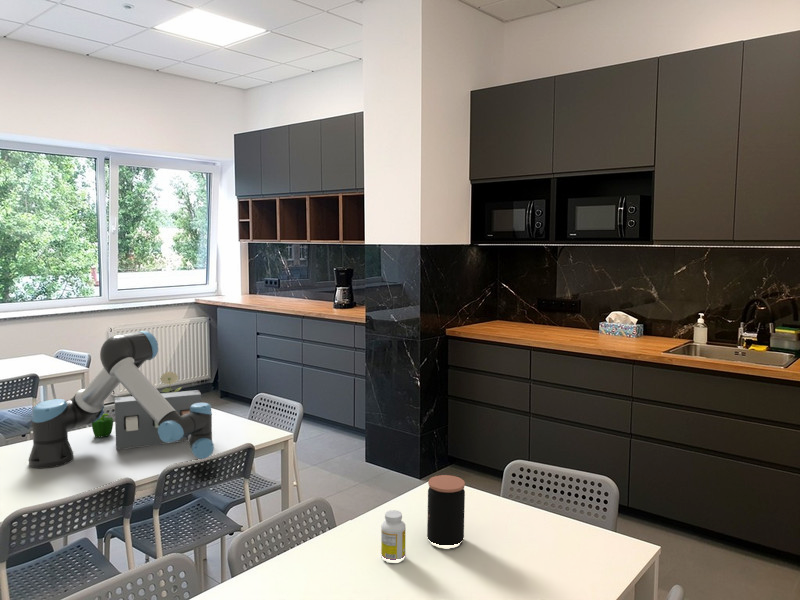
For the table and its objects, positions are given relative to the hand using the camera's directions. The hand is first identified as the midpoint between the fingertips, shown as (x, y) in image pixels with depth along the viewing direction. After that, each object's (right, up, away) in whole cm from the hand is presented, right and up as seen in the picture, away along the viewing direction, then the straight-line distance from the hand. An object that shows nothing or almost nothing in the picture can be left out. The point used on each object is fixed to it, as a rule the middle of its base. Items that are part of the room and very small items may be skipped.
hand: (190, 420), depth 252 cm
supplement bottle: (+87, -21, -87) cm, 125 cm away
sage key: (-13, -2, +1) cm, 13 cm away
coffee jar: (+102, -20, -77) cm, 129 cm away
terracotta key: (-3, -1, +6) cm, 7 cm away
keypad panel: (-15, -10, +6) cm, 20 cm away
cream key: (-23, -2, -4) cm, 23 cm away
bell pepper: (-43, -9, +13) cm, 46 cm away
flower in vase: (-19, -8, +33) cm, 38 cm away
